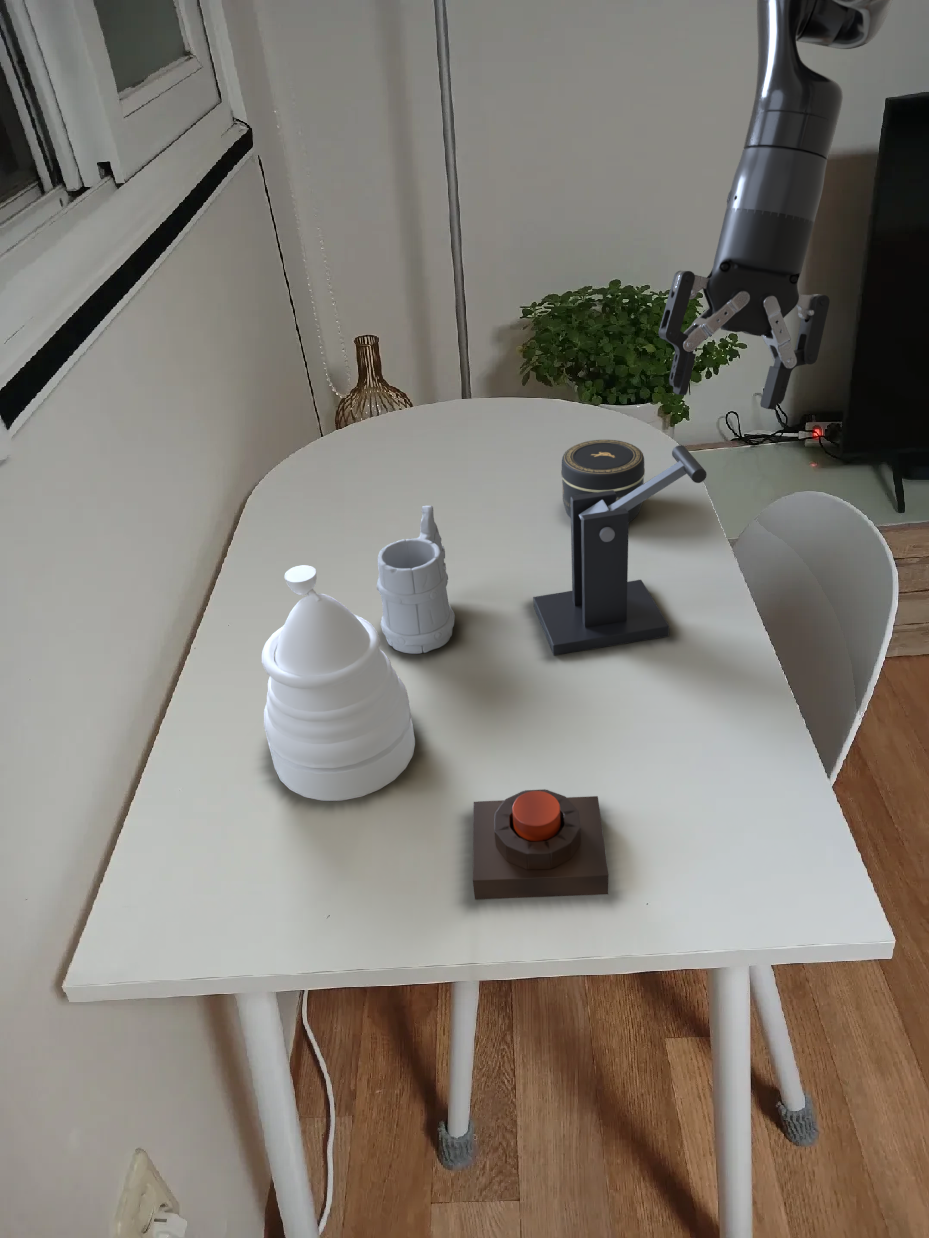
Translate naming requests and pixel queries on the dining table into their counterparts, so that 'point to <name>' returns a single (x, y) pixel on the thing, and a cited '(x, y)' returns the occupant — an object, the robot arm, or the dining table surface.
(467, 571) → the dining table surface
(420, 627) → the mug
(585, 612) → the dark stand
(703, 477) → the switch lever
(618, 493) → the jar
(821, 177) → the robot arm
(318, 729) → the honey pot
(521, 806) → the button
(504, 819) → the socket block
